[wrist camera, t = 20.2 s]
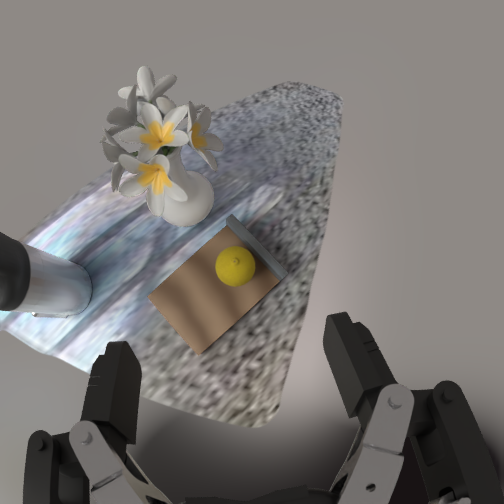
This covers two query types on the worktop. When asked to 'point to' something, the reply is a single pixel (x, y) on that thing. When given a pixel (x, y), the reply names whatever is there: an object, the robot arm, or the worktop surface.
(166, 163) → the flower vase
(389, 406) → the robot arm
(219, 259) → the lemon
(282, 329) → the worktop surface
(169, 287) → the stop board
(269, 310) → the worktop surface
